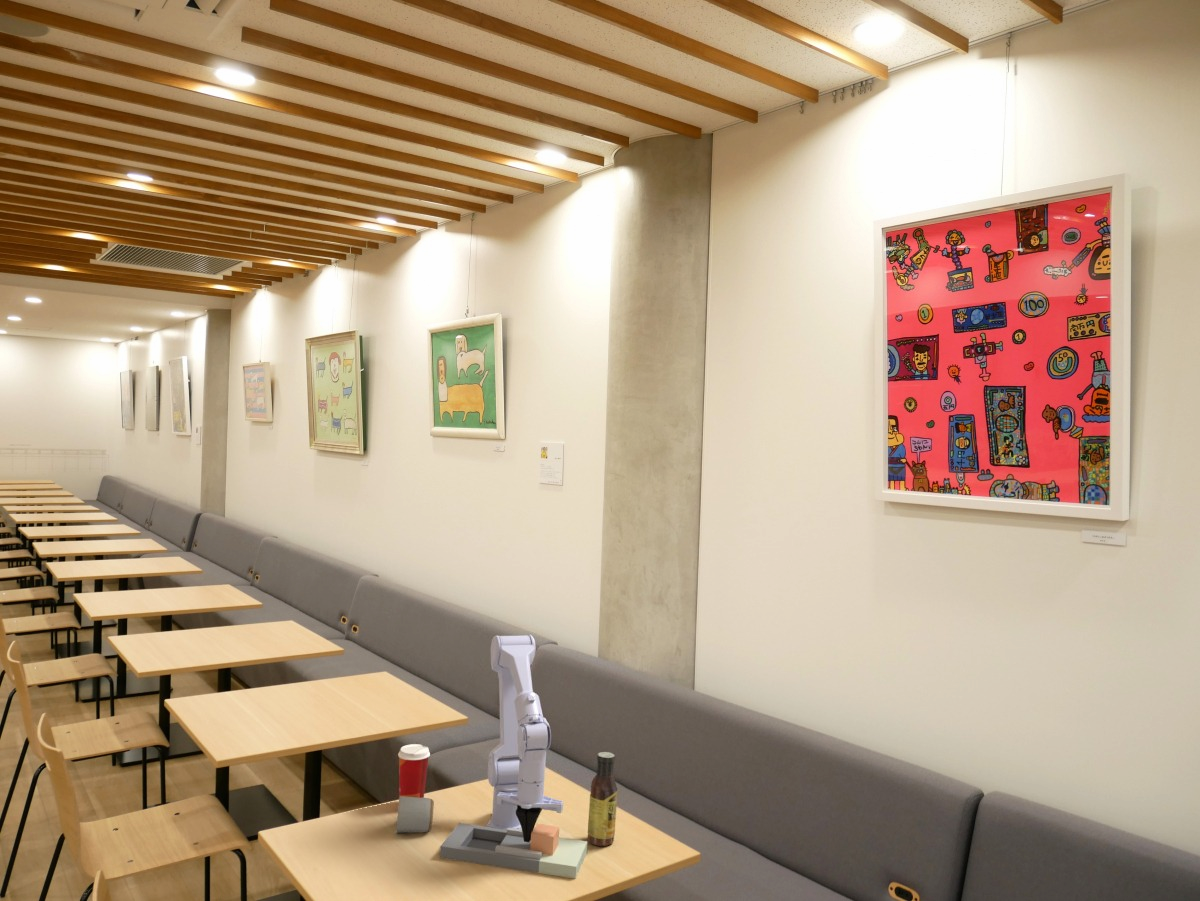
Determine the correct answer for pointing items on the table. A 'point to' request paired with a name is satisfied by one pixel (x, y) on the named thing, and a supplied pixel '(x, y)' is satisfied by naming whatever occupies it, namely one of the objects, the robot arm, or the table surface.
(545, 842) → the terracotta block
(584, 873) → the table surface
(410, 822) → the grey rounded cube
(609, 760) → the sauce bottle
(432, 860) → the table surface
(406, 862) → the table surface
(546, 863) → the tunnel deck
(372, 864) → the table surface
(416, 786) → the paper cup
